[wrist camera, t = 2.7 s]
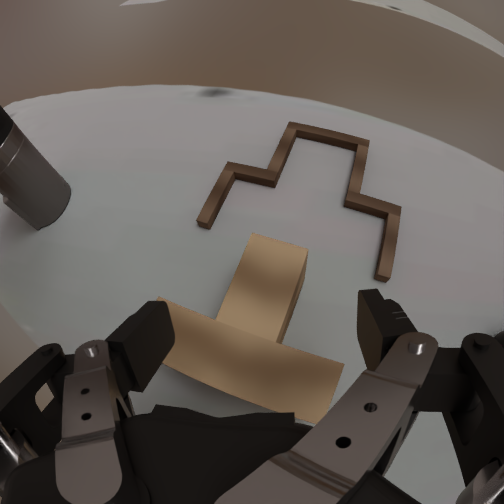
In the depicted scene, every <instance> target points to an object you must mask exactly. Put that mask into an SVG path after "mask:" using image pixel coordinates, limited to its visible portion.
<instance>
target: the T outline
mask: <svg viewBox="0 0 504 504" xmlns="http://www.w3.org/2000/svg"><path fill="white" fill-rule="evenodd" d="M296 137H299V138H304V139H308V140H313V141H317V142H321V143H326V144H330V145H334V146H338V147H342V148H345V149H349V150H353V151H356V157H355V162H354V166H353V171H352V175H351V179H350V184H349V188H348V192H347V196H346V200H345V204H344V207H347V208H350V209H354V210H357V211H360V212H364V213H367V214H370V215H373V216H377V217H380V218H383V219H386V220H385V226H384V232H383V238H382V243H381V249H380V254H379V259H378V263H377V268H376V273H375V277H374V279H376V280H380V281H383V282H387V281H388V280H389V279H390V278H391V272H392V267H393V262H394V256H395V250H396V244H397V237H398V230H399V223H400V214H401V206H398V205H395V204H392V203H389V202H385V201H382V200H379V199H376V198H373V197H369V196H366V195H363V194H360V190H361V185H362V180H363V175H364V170H365V164H366V159H367V153H368V147H369V141H370V140H366V139H363V138H359V137H355V136H352V135H348V134H344V133H340V132H336V131H332V130H328V129H323V128H319V127H314V126H309V125H305V124H300V123H295V122H289V123H288V125H287V128H286V130H285V132H284V134H283V136H282V138H281V140H280V142H279V145H278V147H277V149H276V151H275V153H274V155H273V157H272V160H271V162H270V164H269V166H268V168H267V169H262V168H257V167H253V166H248V165H243V164H238V163H233V162H227V164H226V166H225V167H224V169H223V171H222V173H221V175H220V176H219V178H218V180H217V182H216V184H215V186H214V187H213V189H212V191H211V193H210V195H209V197H208V199H207V200H206V202H205V204H204V206H203V208H202V210H201V212H200V214H199V216H198V218H197V220H196V221H197V223H198V225H199V226H200V227H203V228H207V229H211V227H212V225H213V223H214V221H215V219H216V217H217V215H218V213H219V211H220V209H221V207H222V205H223V203H224V201H225V199H226V197H227V195H228V193H229V191H230V189H231V187H232V185H233V183H234V181H235V179H238V180H242V181H247V182H251V183H256V184H260V185H264V186H268V187H272V188H275V187H276V184H277V182H278V180H279V177H280V175H281V173H282V170H283V168H284V166H285V163H286V161H287V158H288V156H289V154H290V151H291V149H292V147H293V144H294V142H295V140H296Z"/></svg>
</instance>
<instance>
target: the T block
mask: <svg viewBox="0 0 504 504" xmlns="http://www.w3.org/2000/svg"><path fill="white" fill-rule="evenodd" d="M307 256H308V249H306V248H303V247H299V246H296V245H293V244H289V243H286V242H282V241H279V240H276V239H272V238H269V237H265V236H262V235H258V234H255V233H252V234H251V236H250V239H249V241H248V244H247V246H246V248H245V251H244V253H243V255H242V258H241V260H240V263H239V265H238V267H237V270H236V272H235V274H234V277H233V279H232V282H231V284H230V286H229V289H228V291H227V294H226V296H225V298H224V301H223V303H222V306H221V308H220V310H219V313H218V315H217V318H216V320H214V319H211V318H209V317H206V316H204V315H201V314H199V313H197V312H194V311H192V310H189V309H187V308H184V307H182V306H180V305H177V304H175V303H173V302H170V301H168V300H166V299H163V298H161V297H159V296H158V298H157V301H165V302H166V303H167V305H168V308H169V312H170V316H171V320H172V324H173V328H174V332H175V343H174V346H173V347H172V349H171V350H170V352H169V353H168V355H167V356H166V358H165V359H164V361H163V362H162V363H163V364H165V365H167V366H169V367H171V368H173V369H175V370H177V371H179V372H181V373H183V374H185V375H187V376H190V377H192V378H194V379H196V380H198V381H200V382H203V383H205V384H207V385H209V386H212V387H214V388H216V389H219V390H221V391H223V392H226V393H228V394H231V395H233V396H236V397H238V398H241V399H243V400H246V401H249V402H251V403H254V404H257V405H259V406H262V407H265V408H268V409H270V410H273V411H276V412H279V413H284V412H295V418H298V419H301V420H305V421H308V422H311V423H315V424H317V423H318V422H319V421H320V420H321V419H322V418H323V417H324V416H325V415H326V413H327V410H328V408H329V405H330V403H331V400H332V397H333V395H334V392H335V389H336V387H337V384H338V381H339V378H340V376H341V373H342V370H343V367H344V364H343V363H339V362H336V361H333V360H329V359H326V358H323V357H319V356H316V355H313V354H310V353H307V352H304V351H300V350H297V349H294V348H291V347H288V346H285V345H282V341H283V339H284V336H285V333H286V331H287V328H288V325H289V322H290V320H291V317H292V314H293V311H294V308H295V306H296V303H297V300H298V297H299V294H300V291H301V288H302V285H303V282H304V279H305V271H306V264H307Z"/></svg>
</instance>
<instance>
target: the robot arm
mask: <svg viewBox="0 0 504 504" xmlns="http://www.w3.org/2000/svg"><path fill="white" fill-rule="evenodd" d="M70 192H71V190H70V186H69V184H68V183H67V182H66V181H65V180H64V179H63V178H62V177H61V176H60V175H59V174H58V172H57V171H56V170H55V169H54V168H53V167H52V166H51V165H50V164H49V162H48V161H47V160H46V159H45V158H44V157H43V156H42V155H41V153H40V152H39V151H38V150H37V149H36V148H35V147H34V145H33V144H32V143H31V142H30V141H29V140H28V138H27V137H26V136H25V135H24V134H23V132H22V131H21V130H20V129H19V128H18V126H17V125H16V124H15V123H14V121H13V120H12V119H11V118H10V116H9V115H8V114H7V113H6V112H5V110H4V109H3V108H2V107H1V106H0V193H1V194H2V195H3V202H4V203H5V204H6V205H7V206H8V207H9V208H10V209H12V210H13V211H14V212H15V213H17V214H18V215H19V216H20V217H21V218H23V219H24V220H25V221H27V222H28V223H29V224H30V225H32V226H33V227H34V228H36V229H37V230H39V229H40V228H41V227H43V226H47V225H49V224H51V223H52V222H54V221H55V220H56V219H57V218H58V217H59V216H60V215H61V213H62V212H63V210H64V209H65V207H66V205H67V203H68V201H69V198H70ZM357 337H358V341H359V344H360V348H361V351H362V354H363V357H364V360H365V364H366V367H367V369H366V370H364V371H363V372H362V373H361V375H360V376H359V377H358V378H357V380H356V381H355V382H354V383H353V384H352V386H351V387H350V388H349V389H348V390H347V391H346V393H345V394H344V395H343V396H342V397H341V398H340V399H339V401H338V402H337V403H336V404H335V405H334V406H333V407H332V408H331V409H330V410H329V412H328V413H327V414H326V415H325V416H324V417H323V418H322V419H321V420H320V421H319V422H318V423H317V424H316V425H315V426H314V427H312V426H309V425H305V424H301V423H295V412H284V413H252V414H246V415H239V416H231V417H223V418H217V417H213V416H209V415H206V414H203V413H199V412H196V411H193V410H190V409H187V408H179V407H171V406H164V405H157V404H156V405H155V407H154V409H153V410H152V412H151V413H148V414H140V415H135V412H134V409H133V405H132V401H131V398H130V396H129V394H128V392H129V391H136V392H143V391H144V389H145V388H146V386H147V385H148V383H149V382H150V380H151V379H152V377H153V376H154V374H155V373H156V371H157V370H158V368H159V367H160V365H161V364H162V362H163V361H164V359H165V358H166V356H167V355H168V353H169V352H170V350H171V349H172V347H173V346H174V343H175V332H174V328H173V324H172V320H171V316H170V312H169V308H168V305H167V303H166V302H165V301H148V302H147V303H145V304H144V305H143V306H142V307H141V308H140V309H139V310H138V311H137V312H136V313H135V314H133V315H131V316H129V317H128V318H127V319H126V320H125V321H124V322H123V323H122V324H121V325H120V326H119V327H118V328H117V329H116V330H115V331H114V332H113V333H112V334H111V335H110V336H109V337H107V338H106V339H105V340H92V341H88V342H86V343H84V344H82V345H81V346H79V347H78V348H77V349H76V351H75V354H69V355H64V352H63V350H62V348H61V346H60V345H59V344H56V343H52V344H47V345H44V346H42V347H40V348H39V349H38V350H36V351H35V352H34V353H33V354H32V355H31V356H30V357H28V358H27V359H26V360H25V361H24V362H23V363H22V364H21V365H20V366H18V367H17V368H16V369H15V370H14V371H13V372H12V373H11V374H10V375H9V376H8V377H6V378H5V379H4V380H3V381H2V382H1V383H0V496H1V497H2V500H1V504H421V503H420V502H418V501H417V500H415V499H414V498H412V497H411V496H409V495H408V494H406V493H405V492H404V491H402V490H401V489H399V488H398V487H397V486H395V485H394V484H392V483H391V482H390V481H388V480H387V479H386V478H384V476H385V474H386V473H387V471H388V469H389V468H390V466H391V464H392V462H393V460H394V458H395V456H396V455H397V453H398V451H399V449H400V447H401V446H402V444H403V442H404V440H405V439H406V437H407V435H408V433H409V431H410V430H411V428H412V426H413V424H414V422H415V420H416V418H417V416H418V414H419V412H420V411H424V412H442V414H443V417H444V420H445V423H446V425H447V428H448V431H449V434H450V437H451V440H452V443H453V446H454V449H455V452H456V455H457V458H458V462H459V465H460V469H461V472H462V476H463V479H464V483H465V487H466V488H465V489H464V490H463V491H462V492H461V494H460V495H459V497H458V498H457V501H456V504H504V348H503V347H502V346H501V345H500V343H499V342H498V341H497V340H496V339H495V338H494V337H492V336H490V335H487V334H483V333H473V334H469V335H467V336H466V337H465V338H464V339H463V341H462V344H461V348H441V347H438V342H437V340H436V339H435V338H434V337H432V336H431V335H429V334H426V333H422V332H418V331H417V330H416V328H415V327H414V325H413V324H412V322H411V321H410V319H409V318H407V315H406V313H405V312H404V311H403V309H402V308H401V306H400V305H399V304H398V303H396V302H395V301H393V300H391V299H386V300H384V298H383V297H382V295H381V294H380V292H379V291H378V289H367V290H359V292H358V308H357ZM45 383H47V385H48V386H49V388H50V390H51V392H52V394H53V395H54V398H53V400H52V401H51V402H50V403H49V404H48V405H47V406H46V408H45V409H44V410H43V411H42V412H41V411H40V409H39V408H38V406H37V404H36V402H35V395H36V393H37V391H38V390H39V389H40V388H41V387H42V386H43V385H44V384H45ZM61 439H62V441H61ZM60 441H61V442H60ZM59 442H60V443H59Z"/></svg>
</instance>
